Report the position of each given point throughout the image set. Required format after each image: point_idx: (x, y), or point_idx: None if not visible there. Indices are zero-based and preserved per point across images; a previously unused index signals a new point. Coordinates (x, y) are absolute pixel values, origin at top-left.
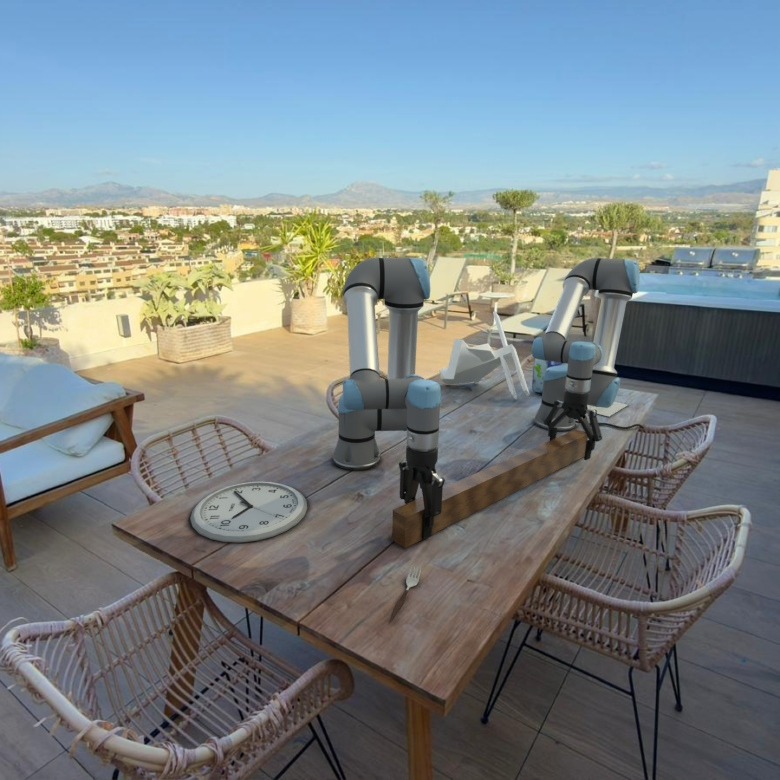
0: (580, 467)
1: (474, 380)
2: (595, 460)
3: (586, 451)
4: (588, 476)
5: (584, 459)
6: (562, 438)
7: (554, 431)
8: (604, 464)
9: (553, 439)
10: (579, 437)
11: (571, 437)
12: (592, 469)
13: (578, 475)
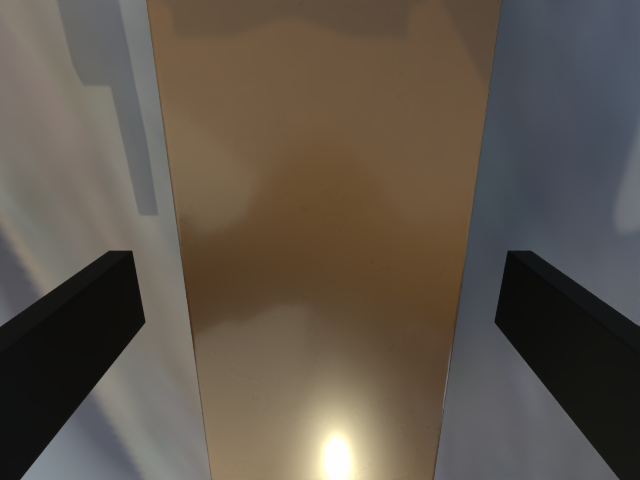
0: (168, 202)
1: None
2: (186, 388)
3: (59, 295)
4: (9, 90)
5: (125, 251)
6: (367, 229)
7: (628, 414)
8: (109, 377)
9: (485, 7)
10: (210, 472)
11: (285, 389)
12: (92, 242)
13: (65, 31)
